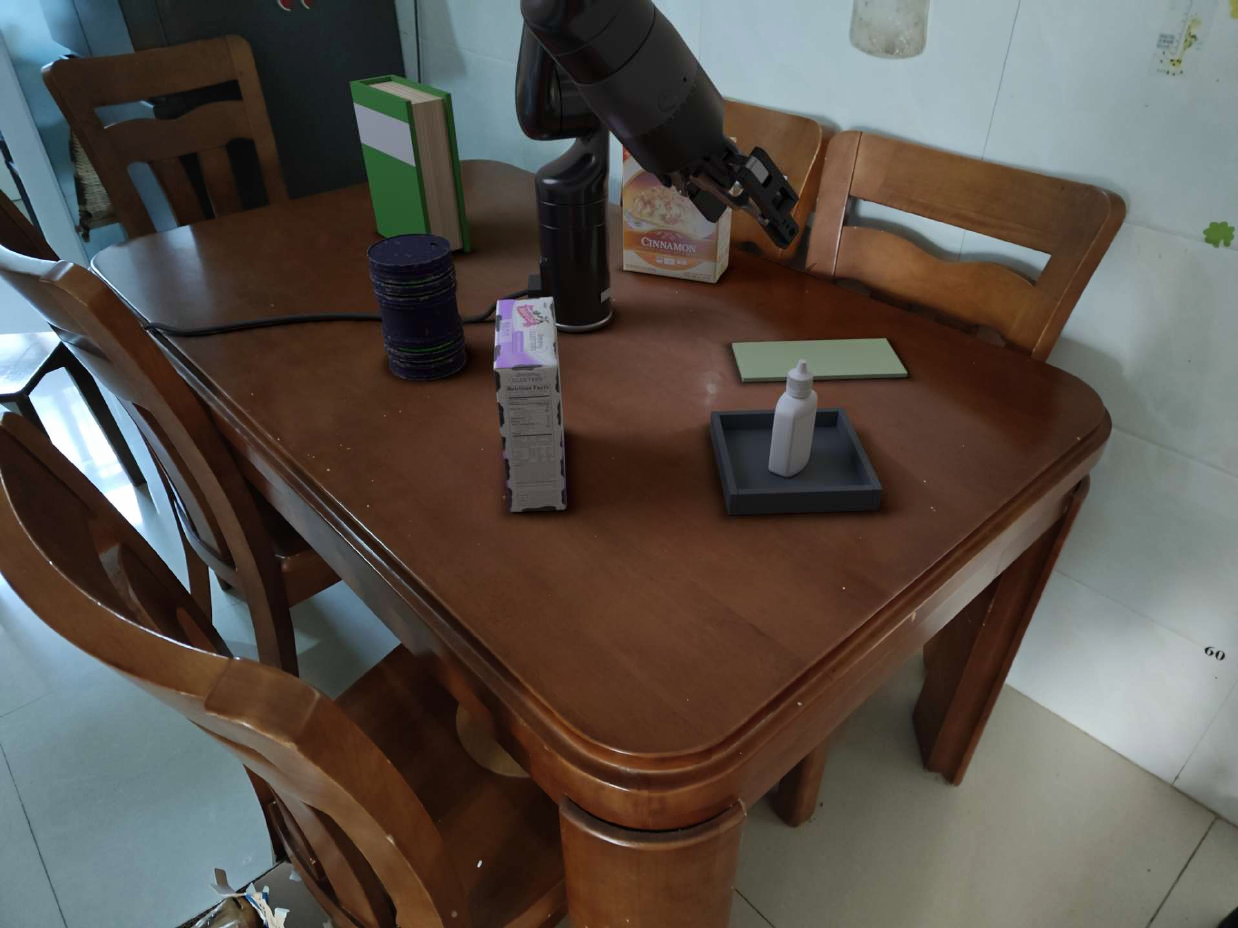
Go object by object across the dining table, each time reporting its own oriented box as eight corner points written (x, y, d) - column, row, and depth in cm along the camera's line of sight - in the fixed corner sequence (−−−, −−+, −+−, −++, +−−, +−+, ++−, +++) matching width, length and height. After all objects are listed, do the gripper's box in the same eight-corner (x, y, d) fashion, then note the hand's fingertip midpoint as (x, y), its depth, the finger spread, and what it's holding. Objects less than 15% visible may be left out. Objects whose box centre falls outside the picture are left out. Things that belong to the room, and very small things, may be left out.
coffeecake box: (622, 270, 127) (620, 139, 115) (638, 254, 132) (638, 126, 121) (715, 284, 122) (723, 149, 111) (728, 266, 128) (737, 135, 116)
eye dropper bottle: (824, 467, 85) (840, 364, 77) (778, 482, 83) (791, 378, 76) (798, 445, 88) (813, 345, 81) (754, 459, 86) (764, 357, 79)
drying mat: (742, 382, 100) (743, 378, 99) (731, 346, 107) (732, 342, 107) (906, 377, 100) (907, 373, 100) (884, 342, 107) (885, 338, 107)
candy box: (511, 434, 91) (495, 297, 81) (564, 431, 92) (555, 294, 82) (508, 514, 80) (490, 366, 70) (568, 510, 80) (558, 362, 71)
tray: (728, 515, 80) (730, 494, 78) (709, 430, 91) (710, 411, 90) (878, 510, 80) (883, 489, 78) (840, 426, 92) (843, 406, 90)
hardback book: (470, 251, 134) (450, 93, 120) (430, 263, 130) (405, 101, 116) (416, 222, 145) (392, 74, 131) (378, 233, 141) (349, 82, 127)
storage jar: (400, 388, 100) (377, 272, 91) (379, 354, 107) (356, 242, 98) (478, 368, 103) (463, 254, 94) (453, 336, 110) (437, 227, 101)
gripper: (750, 56, 52) (844, 209, 64) (619, 35, 62) (722, 172, 74) (680, 153, 52) (787, 289, 64) (561, 117, 62) (673, 240, 74)
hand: (753, 226), depth 69 cm, fingers open, 8 cm apart
